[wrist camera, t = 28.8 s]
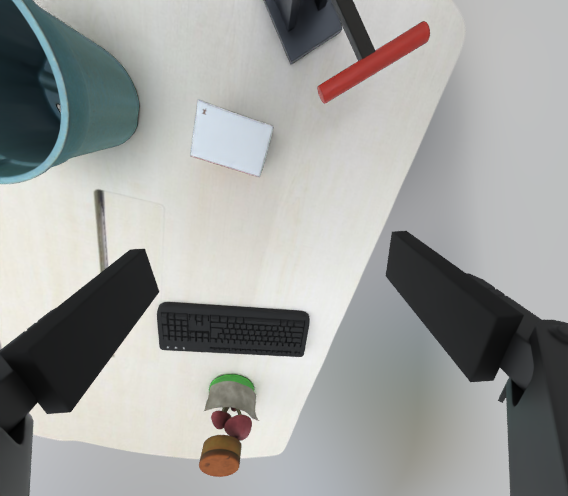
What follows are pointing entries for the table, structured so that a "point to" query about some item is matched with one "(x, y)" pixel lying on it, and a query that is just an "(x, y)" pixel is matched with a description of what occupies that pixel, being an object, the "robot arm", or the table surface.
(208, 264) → the table surface
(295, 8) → the bracket
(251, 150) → the small box
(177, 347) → the keyboard
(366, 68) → the lever
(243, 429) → the multicoloured stacked piece
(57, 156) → the flower pot
